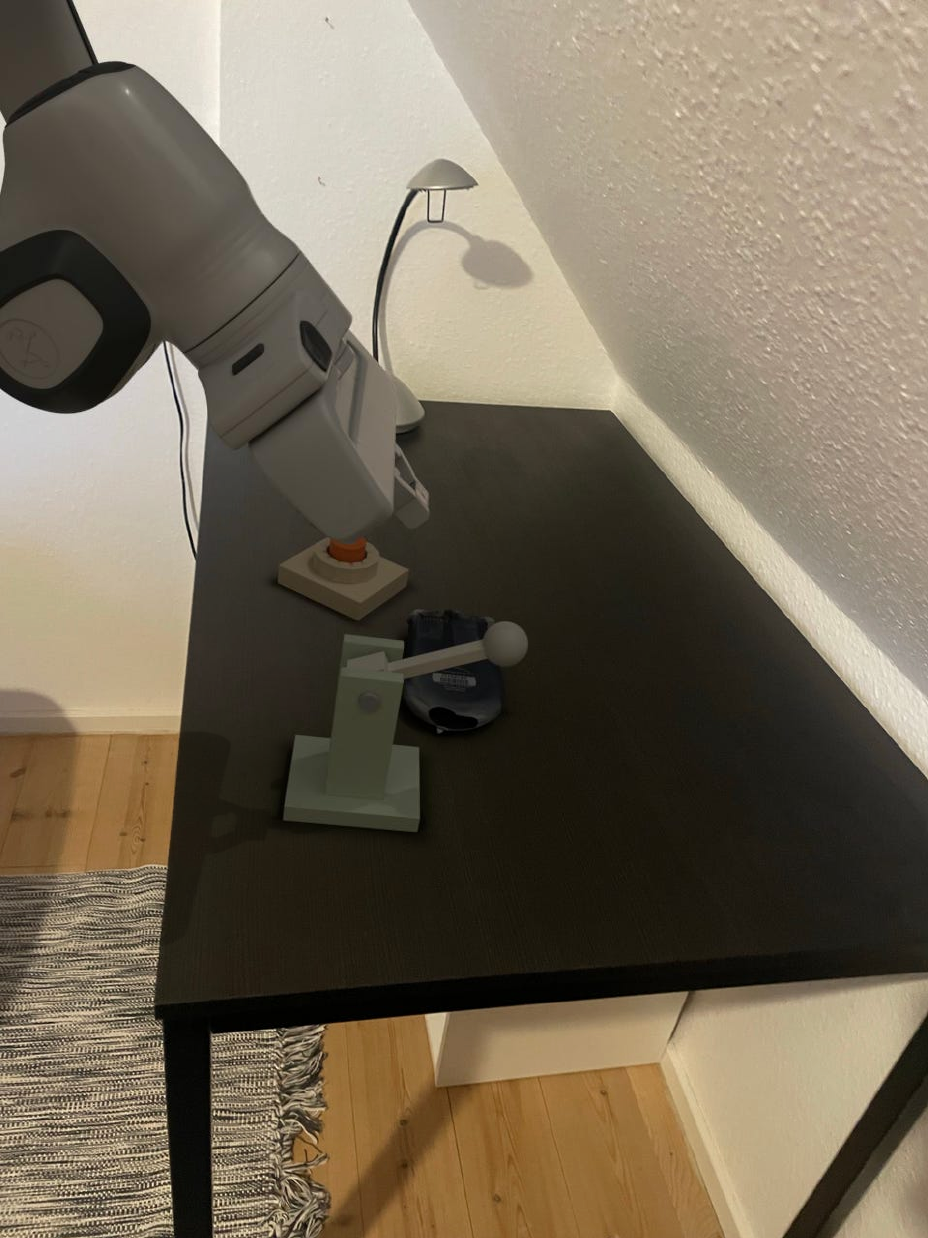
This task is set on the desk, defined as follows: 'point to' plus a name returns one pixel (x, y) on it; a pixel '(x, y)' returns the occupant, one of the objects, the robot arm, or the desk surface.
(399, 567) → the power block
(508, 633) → the switch lever
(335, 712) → the switch base
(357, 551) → the power button
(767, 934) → the desk surface
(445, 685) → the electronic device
